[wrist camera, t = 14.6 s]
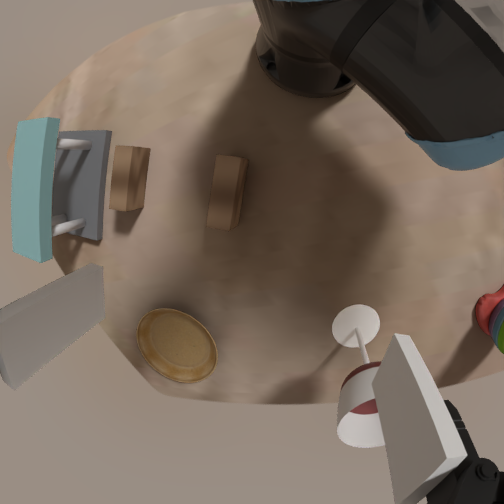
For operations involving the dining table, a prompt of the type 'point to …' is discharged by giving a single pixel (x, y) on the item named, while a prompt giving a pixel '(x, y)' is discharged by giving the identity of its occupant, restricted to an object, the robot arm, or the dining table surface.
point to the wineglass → (358, 379)
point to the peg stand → (80, 183)
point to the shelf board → (33, 187)
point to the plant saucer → (176, 345)
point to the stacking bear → (492, 316)
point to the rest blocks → (222, 191)
